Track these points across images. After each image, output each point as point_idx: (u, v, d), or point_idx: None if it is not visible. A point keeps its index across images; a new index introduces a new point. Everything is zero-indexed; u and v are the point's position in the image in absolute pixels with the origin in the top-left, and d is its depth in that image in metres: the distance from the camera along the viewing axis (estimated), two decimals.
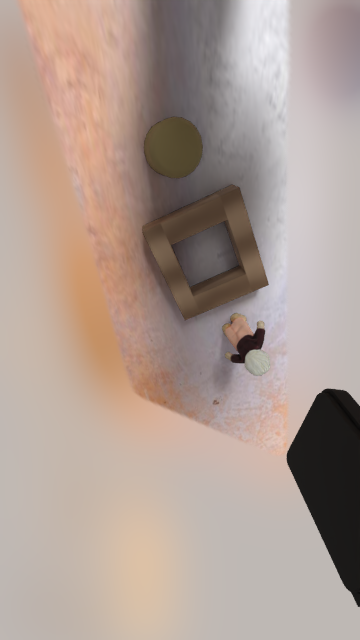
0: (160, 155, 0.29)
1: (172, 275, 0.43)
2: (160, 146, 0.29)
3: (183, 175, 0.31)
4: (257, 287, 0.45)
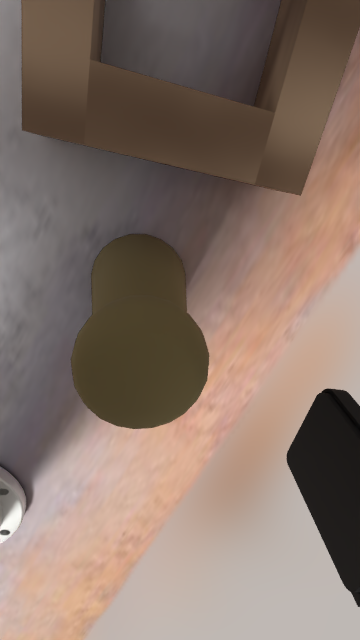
0: (188, 394, 0.11)
1: (337, 9, 0.13)
2: (176, 408, 0.11)
3: (161, 317, 0.11)
4: None
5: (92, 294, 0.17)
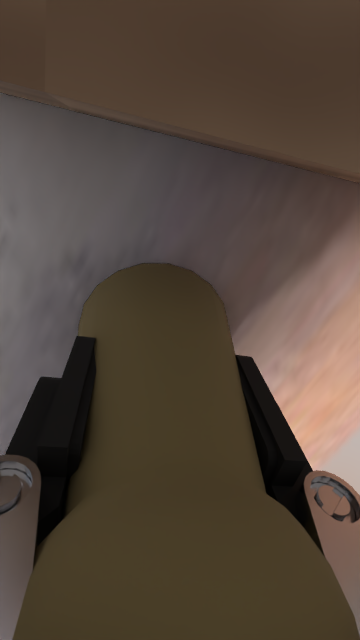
0: None
1: None
2: None
3: None
4: None
5: None
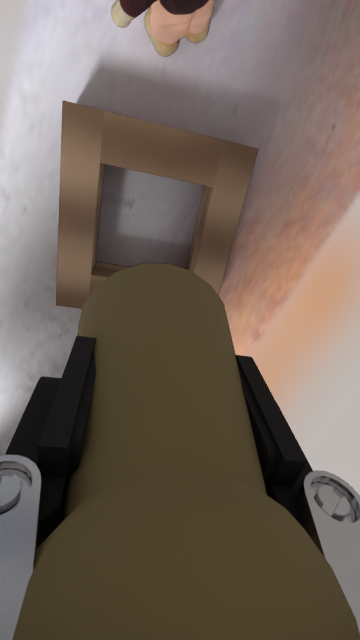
0: None
1: (216, 246, 0.25)
2: None
3: None
4: (89, 113, 0.20)
5: None
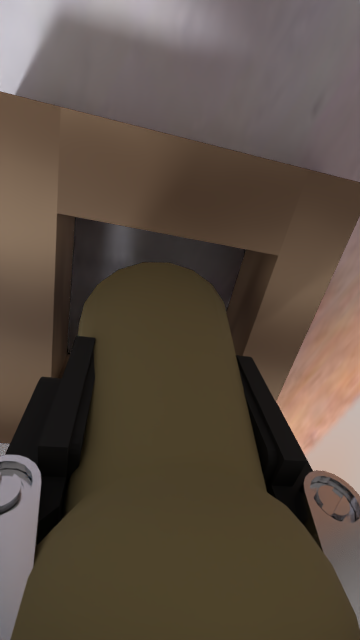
0: None
1: (273, 350, 0.14)
2: None
3: None
4: (28, 111, 0.09)
5: None
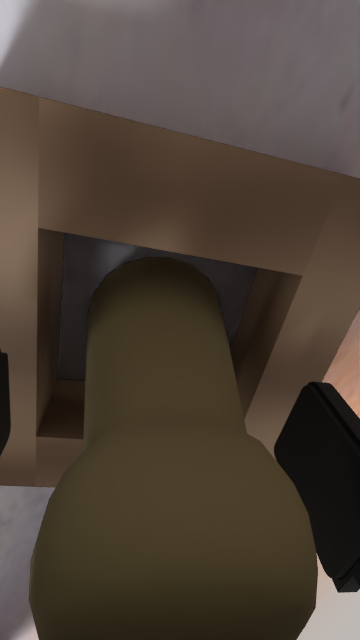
0: None
1: (293, 381, 0.12)
2: None
3: (237, 514, 0.04)
4: None
5: (87, 357, 0.11)
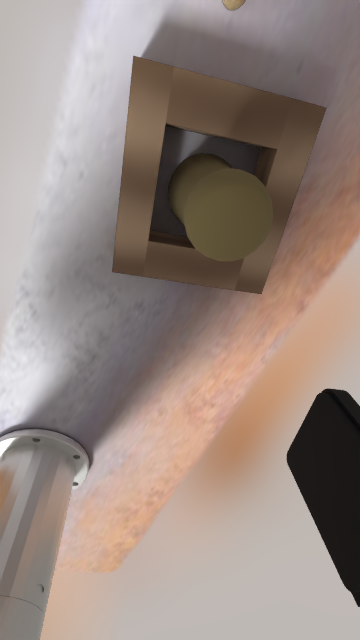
0: (261, 231, 0.18)
1: (275, 212, 0.24)
2: (252, 241, 0.18)
3: (248, 176, 0.17)
4: (159, 69, 0.19)
5: (178, 191, 0.23)
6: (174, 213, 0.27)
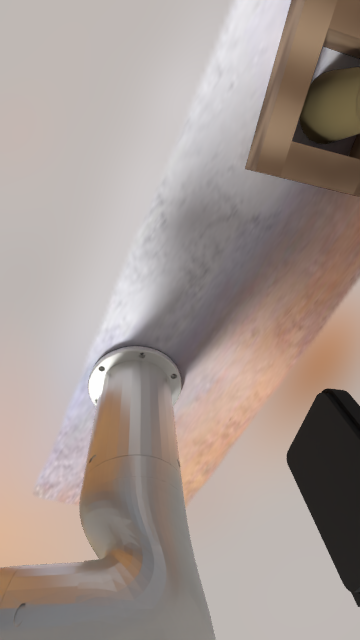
0: None
1: None
2: None
3: None
4: None
5: (325, 93, 0.27)
6: (305, 124, 0.31)
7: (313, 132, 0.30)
